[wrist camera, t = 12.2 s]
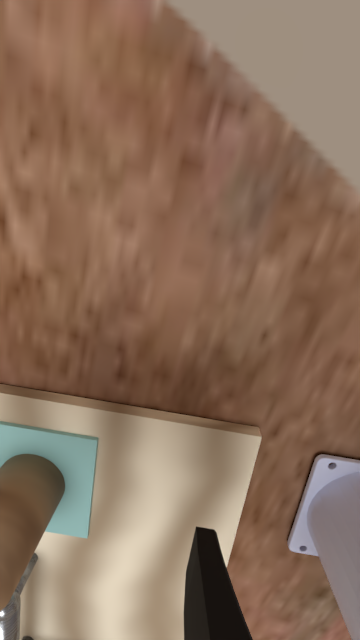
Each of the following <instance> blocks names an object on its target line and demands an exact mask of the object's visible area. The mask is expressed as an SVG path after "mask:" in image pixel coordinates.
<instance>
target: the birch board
mask: <svg viewBox="0 0 360 640" xmlns="http://www.w3.org/2000/svg"><path fill="white" fill-rule="evenodd" d="M0 421H3V422H9V423H15V424H21V425H27V426H33V427H39V428H45V429H51V430H57V431H62V432H68V433H74V434H80V435H86V436H92V437H98V438H99V440H98V449H97V459H96V469H95V478H94V488H93V498H92V507H91V517H90V527H89V535H88V538H81V537H75V536H69V535H63V534H57V533H51V532H44V534H43V536H42V538H41V540H40V542H39V544H38V546H37V548H36V550H35V552H34V553H36V554H37V555H38V560H37V562H36V564H35V566H34V568H33V570H32V572H31V574H30V576H29V578H28V580H27V582H26V584H25V586H24V588H23V591H22V593H21V595H20V598H21V606H20V640H22V638H23V637H24V636H30V637H32V638H33V639H34V640H184V596H185V579H186V569H187V565H188V560H189V556H190V551H191V547H192V542H193V538H194V533H195V529H196V526H197V527H203V528H208V529H214V530H215V531H216V533H217V537H218V541H219V544H220V548H221V552H222V555H223V558H224V562H225V565H226V568H227V565H228V561H229V557H230V553H231V550H232V546H233V542H234V539H235V535H236V531H237V528H238V524H239V520H240V516H241V513H242V509H243V505H244V502H245V498H246V494H247V490H248V487H249V483H250V479H251V476H252V472H253V468H254V465H255V461H256V457H257V453H258V450H259V446H260V442H261V439H262V436H261V433H260V430H259V427H254V426H248V425H242V424H236V423H231V422H225V421H219V420H213V419H207V418H201V417H195V416H189V415H183V414H177V413H171V412H165V411H159V410H153V409H147V408H141V407H136V406H130V405H124V404H118V403H112V402H106V401H100V400H94V399H88V398H82V397H76V396H70V395H64V394H58V393H52V392H46V391H41V390H35V389H29V388H23V387H17V386H11V385H5V384H0Z"/></svg>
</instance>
